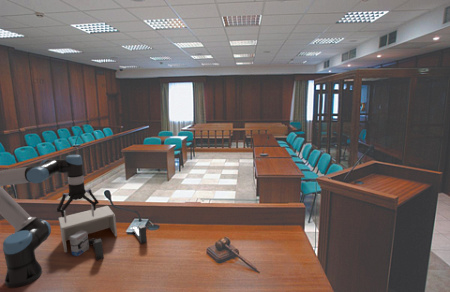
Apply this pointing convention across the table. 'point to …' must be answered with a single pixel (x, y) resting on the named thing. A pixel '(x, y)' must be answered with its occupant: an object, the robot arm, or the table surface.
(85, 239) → the ink box
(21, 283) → the robot arm
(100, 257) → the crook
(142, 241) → the plain bar
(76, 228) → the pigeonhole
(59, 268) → the table surface
